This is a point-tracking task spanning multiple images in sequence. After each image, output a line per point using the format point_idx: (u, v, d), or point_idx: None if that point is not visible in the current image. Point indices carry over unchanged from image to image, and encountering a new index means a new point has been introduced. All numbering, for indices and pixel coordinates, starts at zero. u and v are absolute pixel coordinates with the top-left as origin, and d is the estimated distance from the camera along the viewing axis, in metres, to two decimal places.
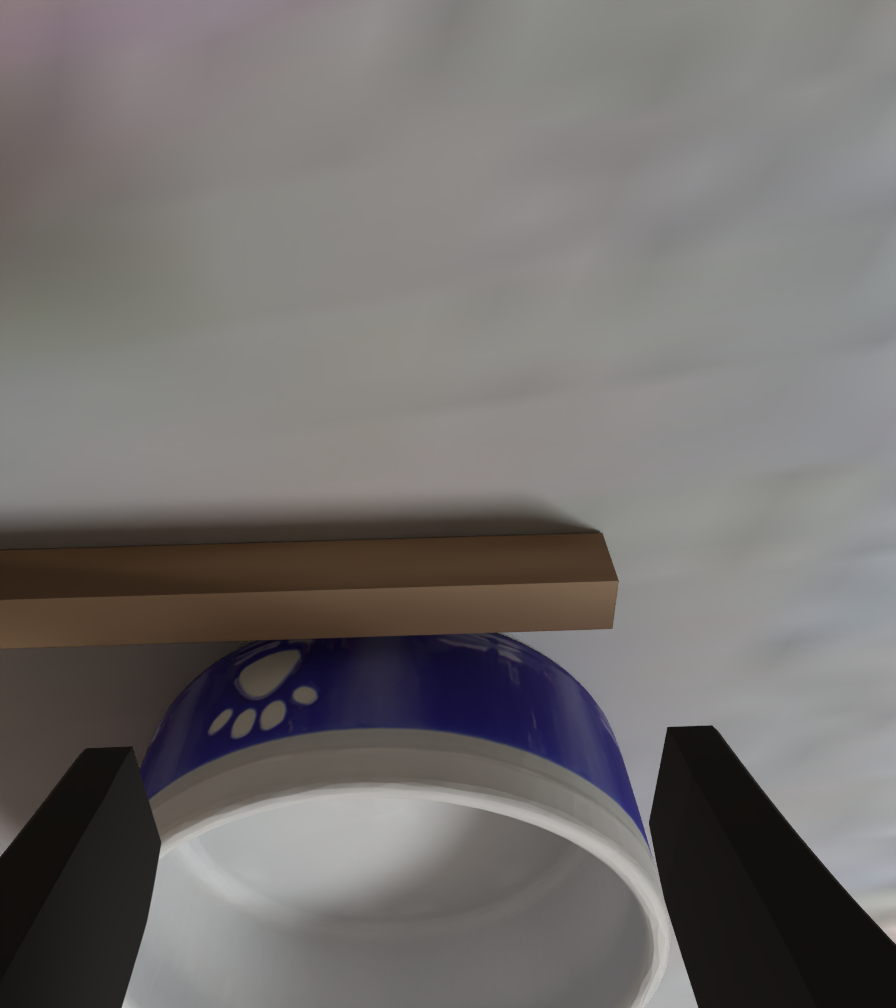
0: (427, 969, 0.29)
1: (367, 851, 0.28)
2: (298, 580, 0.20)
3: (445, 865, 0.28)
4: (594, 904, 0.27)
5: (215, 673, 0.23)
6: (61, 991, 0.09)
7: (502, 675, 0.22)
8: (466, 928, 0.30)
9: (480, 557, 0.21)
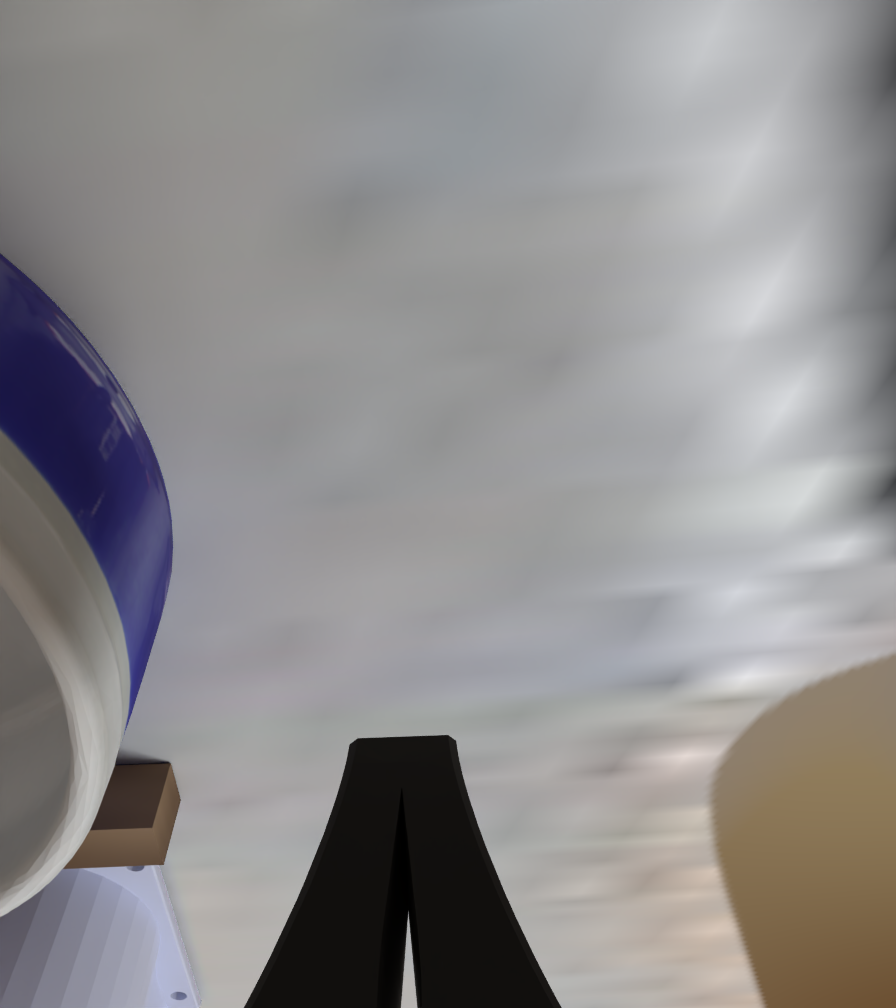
0: None
1: None
2: None
3: None
4: None
5: None
6: (389, 976, 0.09)
7: None
8: (3, 734, 0.21)
9: None
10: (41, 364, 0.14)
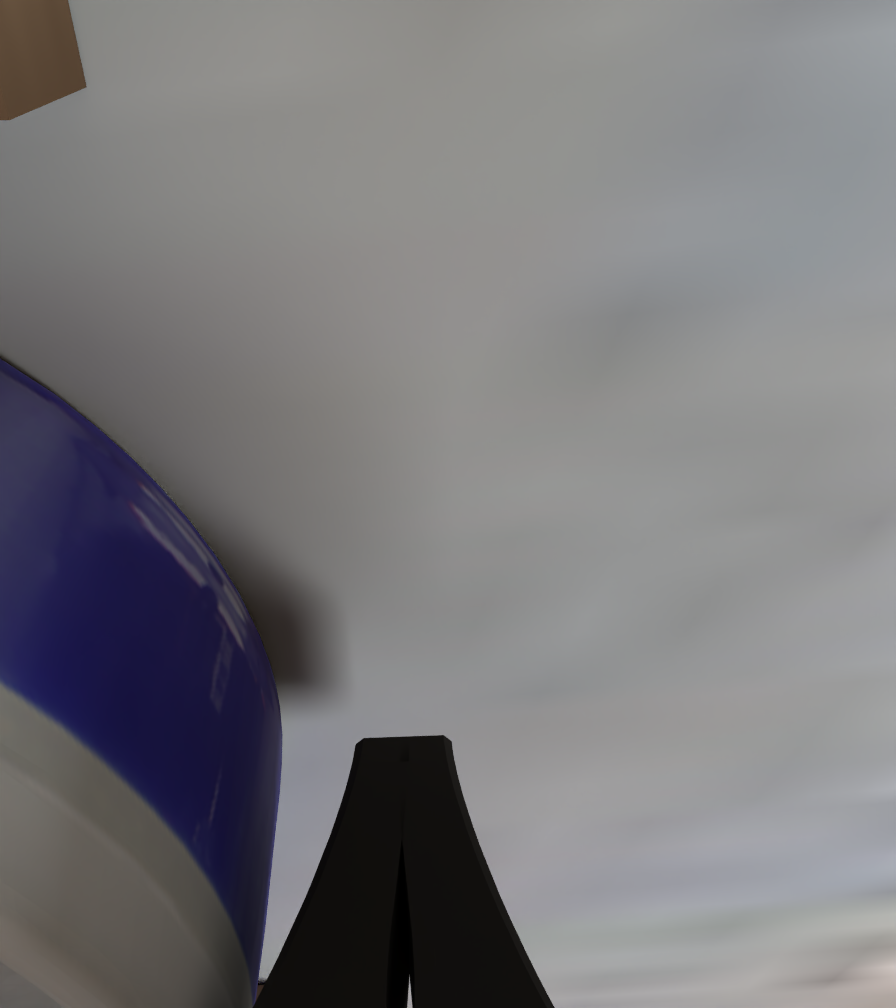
0: None
1: None
2: None
3: None
4: None
5: None
6: (397, 976, 0.09)
7: None
8: None
9: None
10: (129, 584, 0.09)
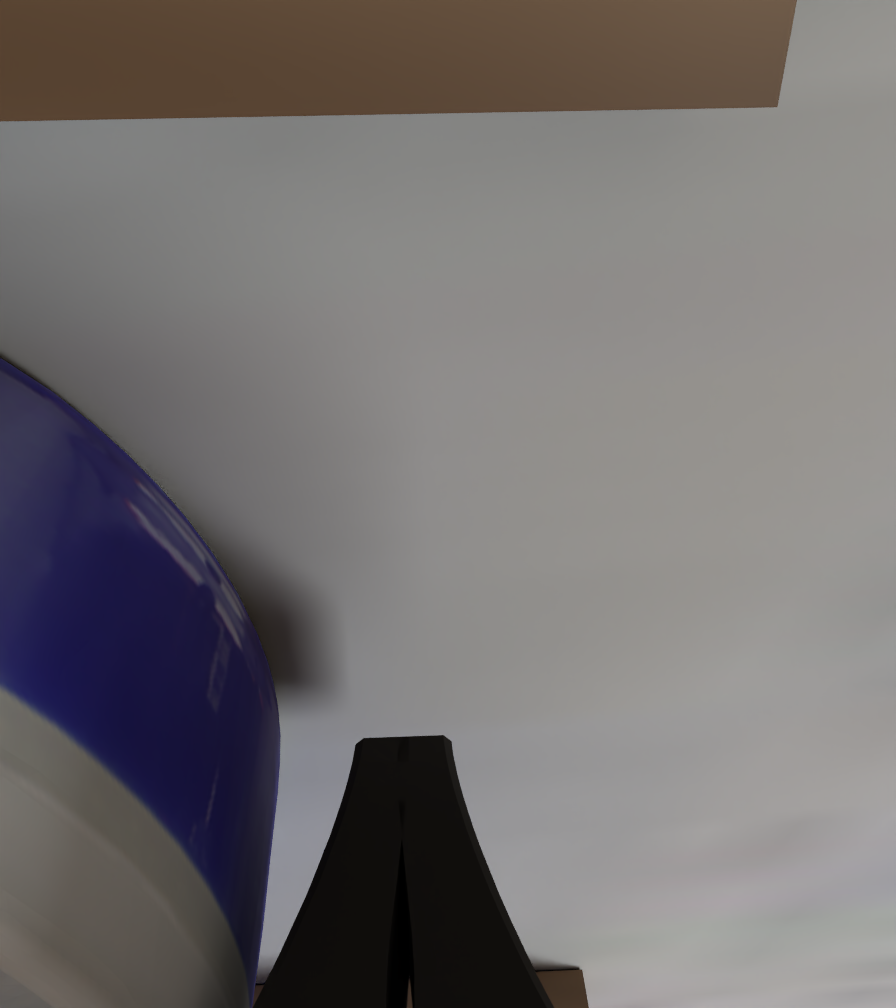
0: None
1: None
2: None
3: None
4: None
5: None
6: (397, 976, 0.09)
7: None
8: None
9: None
10: (124, 582, 0.09)
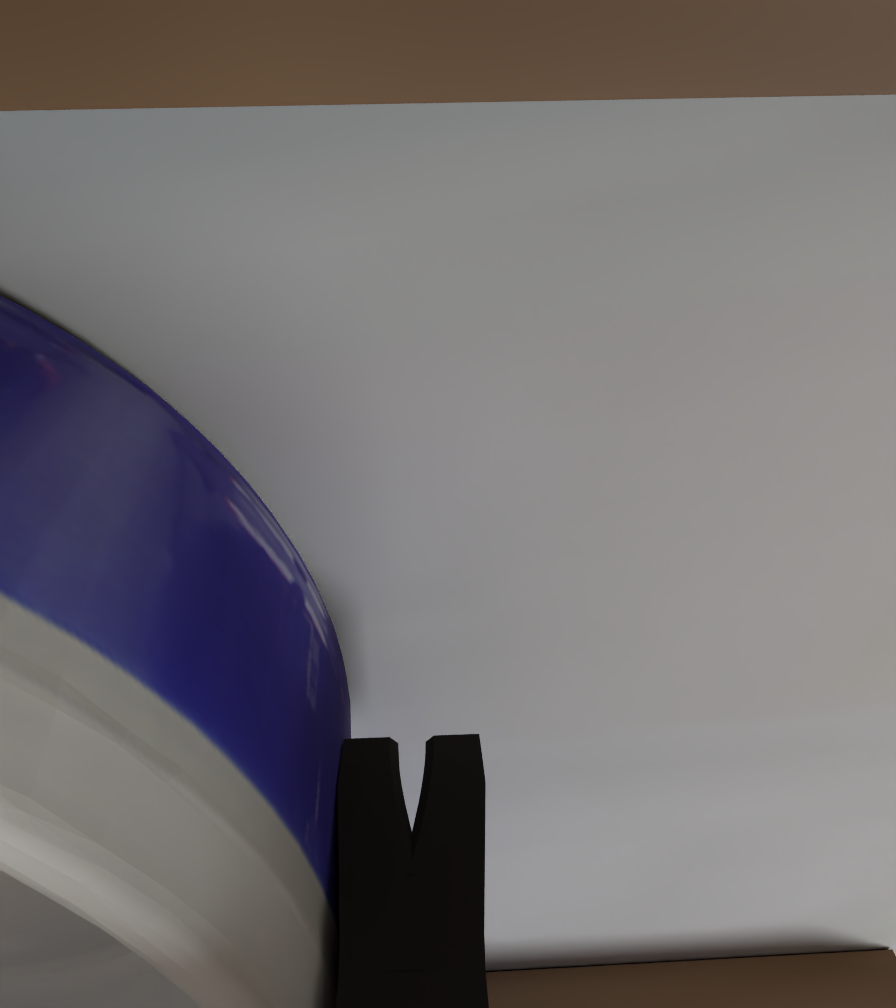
0: None
1: None
2: None
3: None
4: None
5: None
6: None
7: None
8: (94, 983, 0.16)
9: None
10: (233, 580, 0.09)
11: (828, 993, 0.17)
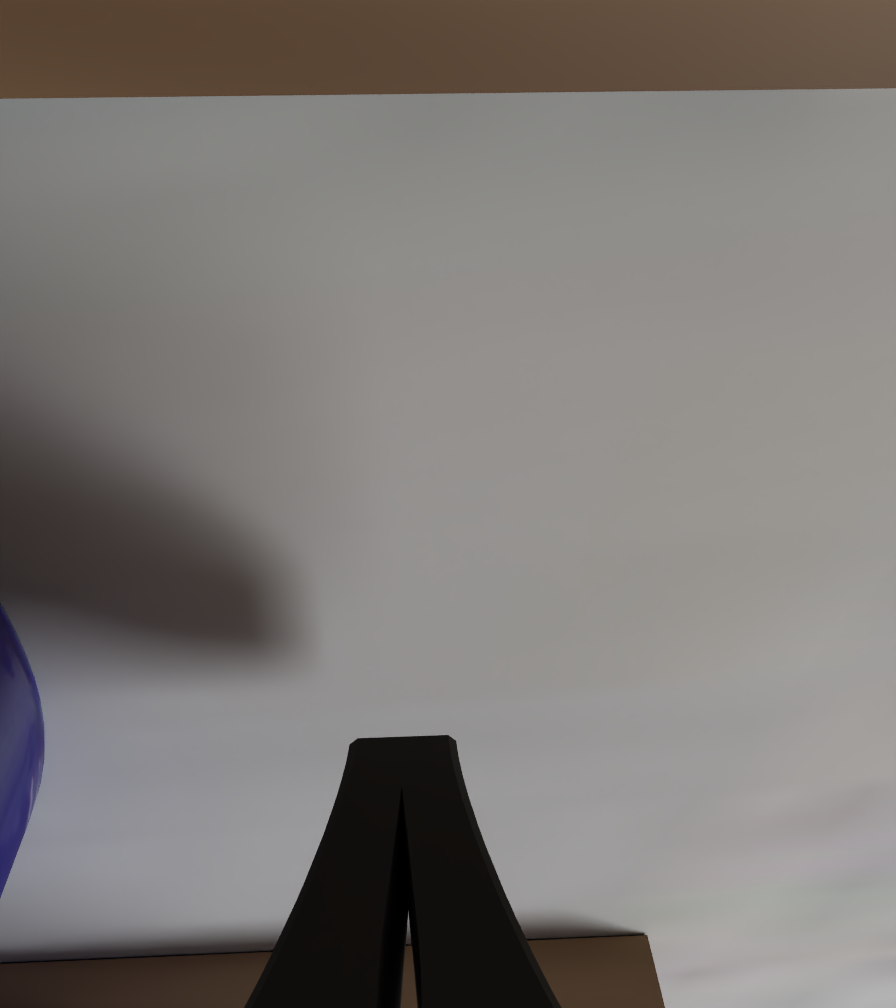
0: None
1: None
2: None
3: None
4: None
5: None
6: (389, 976, 0.09)
7: None
8: None
9: None
10: None
11: (573, 977, 0.18)
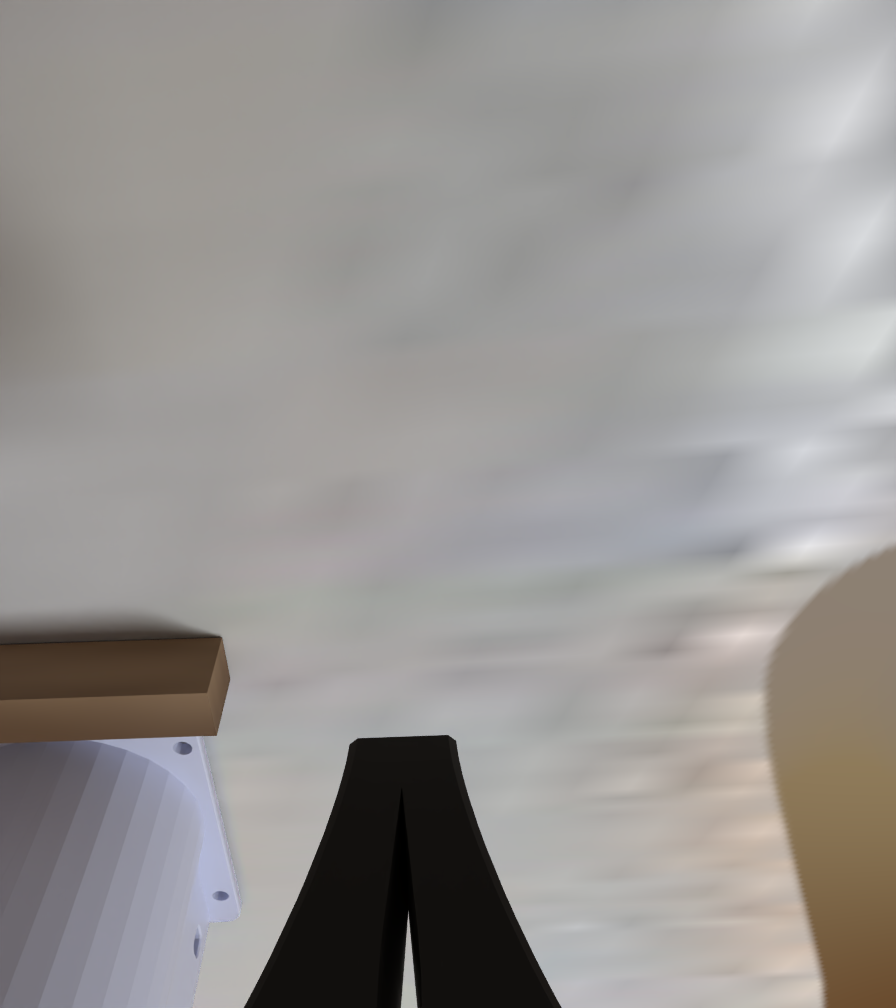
0: None
1: None
2: None
3: None
4: None
5: None
6: (390, 976, 0.09)
7: None
8: None
9: None
10: None
11: (146, 662, 0.22)
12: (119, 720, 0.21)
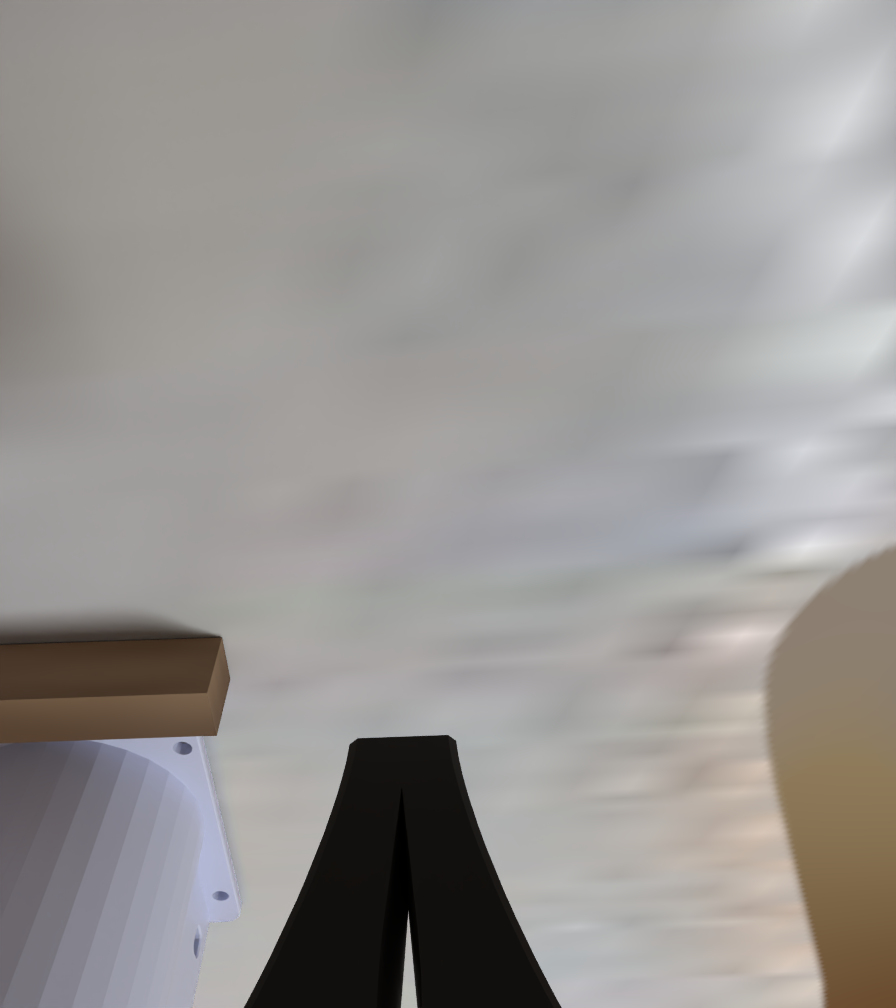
0: None
1: None
2: None
3: None
4: None
5: None
6: (390, 976, 0.09)
7: None
8: None
9: None
10: None
11: (146, 662, 0.22)
12: (119, 720, 0.21)
